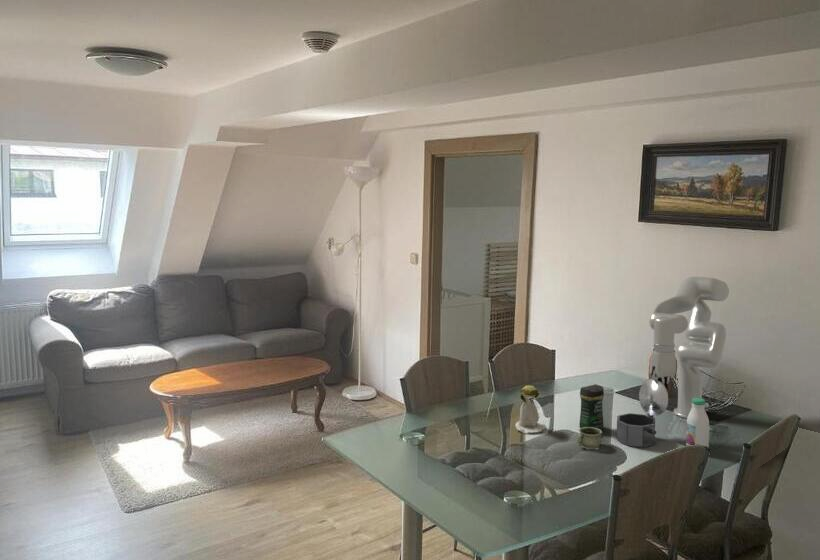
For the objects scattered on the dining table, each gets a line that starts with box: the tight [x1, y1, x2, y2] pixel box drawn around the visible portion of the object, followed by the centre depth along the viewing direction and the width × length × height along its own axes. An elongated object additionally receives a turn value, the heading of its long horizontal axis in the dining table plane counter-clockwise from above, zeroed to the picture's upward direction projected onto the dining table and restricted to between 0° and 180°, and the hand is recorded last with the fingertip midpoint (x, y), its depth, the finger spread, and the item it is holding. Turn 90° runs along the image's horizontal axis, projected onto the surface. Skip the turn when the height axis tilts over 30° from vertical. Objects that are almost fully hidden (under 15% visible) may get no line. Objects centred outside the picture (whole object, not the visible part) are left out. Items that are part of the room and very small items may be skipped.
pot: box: [616, 412, 657, 448], centre depth 246 cm, size 15×20×8 cm
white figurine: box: [515, 385, 547, 434], centre depth 262 cm, size 12×13×18 cm
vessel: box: [577, 427, 604, 450], centre depth 242 cm, size 12×9×6 cm
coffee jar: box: [578, 383, 605, 431], centre depth 259 cm, size 10×8×19 cm
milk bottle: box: [685, 398, 710, 448], centre depth 234 cm, size 8×8×20 cm
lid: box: [638, 378, 669, 417], centre depth 248 cm, size 15×14×2 cm
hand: (662, 392), depth 249 cm, fingers closed
